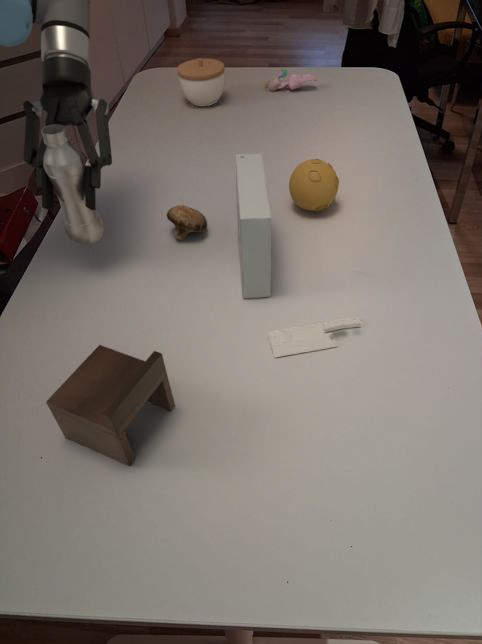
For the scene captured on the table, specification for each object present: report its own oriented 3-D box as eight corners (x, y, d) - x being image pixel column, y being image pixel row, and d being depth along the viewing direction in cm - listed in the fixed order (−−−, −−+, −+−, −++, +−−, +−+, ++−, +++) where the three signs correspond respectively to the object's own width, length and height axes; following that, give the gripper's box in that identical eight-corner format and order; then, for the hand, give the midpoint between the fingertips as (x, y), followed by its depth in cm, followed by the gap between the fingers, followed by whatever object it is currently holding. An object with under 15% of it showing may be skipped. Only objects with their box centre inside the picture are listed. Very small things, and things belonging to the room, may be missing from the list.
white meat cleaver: (367, 341, 84) (368, 336, 83) (273, 358, 82) (273, 353, 82) (357, 319, 87) (358, 314, 86) (267, 334, 86) (267, 330, 85)
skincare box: (274, 297, 92) (272, 217, 80) (242, 300, 92) (235, 220, 80) (265, 227, 106) (262, 151, 95) (237, 229, 106) (231, 153, 95)
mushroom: (166, 237, 100) (175, 203, 98) (158, 230, 107) (166, 199, 105) (206, 248, 103) (215, 216, 102) (195, 241, 110) (204, 211, 109)
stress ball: (295, 223, 107) (295, 177, 100) (284, 198, 114) (283, 153, 106) (343, 216, 108) (347, 170, 101) (329, 191, 115) (332, 146, 107)
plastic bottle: (84, 225, 100) (50, 117, 85) (114, 233, 97) (83, 124, 83) (61, 243, 96) (21, 134, 81) (91, 253, 94) (55, 142, 79)
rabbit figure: (264, 98, 152) (317, 90, 149) (260, 76, 148) (314, 67, 145) (267, 89, 157) (318, 81, 153) (263, 68, 152) (315, 59, 149)
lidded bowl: (172, 102, 150) (166, 59, 142) (208, 89, 155) (203, 47, 147) (200, 115, 143) (195, 71, 135) (236, 101, 149) (233, 58, 141)
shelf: (64, 437, 74) (37, 386, 66) (113, 381, 80) (93, 329, 72) (130, 466, 70) (109, 416, 62) (175, 405, 77) (162, 353, 69)
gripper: (131, 75, 91) (134, 212, 91) (19, 78, 91) (22, 214, 92) (118, 52, 83) (120, 201, 84) (-5, 55, 84) (-1, 204, 85)
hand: (69, 208), depth 88 cm, fingers closed on plastic bottle, 6 cm apart
